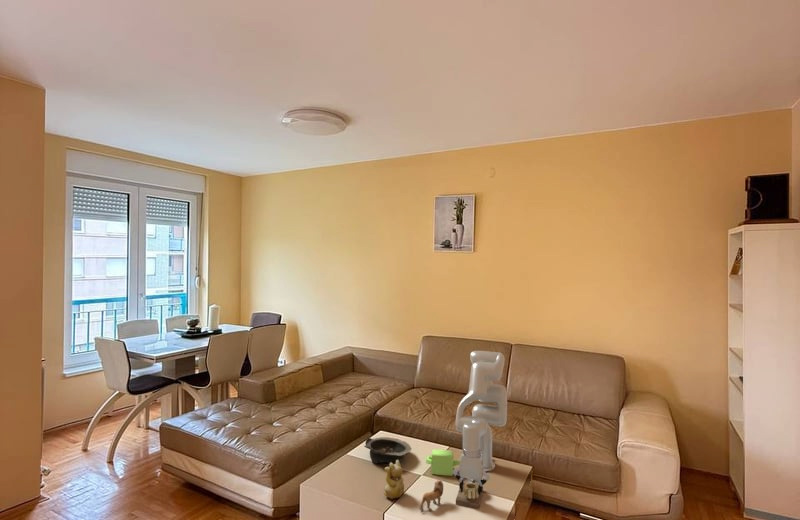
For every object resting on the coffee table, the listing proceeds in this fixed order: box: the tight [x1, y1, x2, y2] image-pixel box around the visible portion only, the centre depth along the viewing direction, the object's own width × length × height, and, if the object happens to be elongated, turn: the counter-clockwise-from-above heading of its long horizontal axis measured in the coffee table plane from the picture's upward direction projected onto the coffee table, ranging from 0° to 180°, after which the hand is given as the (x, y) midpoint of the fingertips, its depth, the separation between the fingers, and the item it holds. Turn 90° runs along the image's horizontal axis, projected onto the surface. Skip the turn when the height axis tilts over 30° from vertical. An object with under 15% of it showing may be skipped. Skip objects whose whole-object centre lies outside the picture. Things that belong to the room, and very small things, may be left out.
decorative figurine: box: [383, 460, 405, 501], centre depth 190 cm, size 10×8×15 cm
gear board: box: [455, 482, 484, 509], centre depth 190 cm, size 15×10×6 cm, turn 162°
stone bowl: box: [363, 436, 413, 465], centre depth 226 cm, size 25×25×9 cm
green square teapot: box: [425, 448, 460, 477], centre depth 213 cm, size 18×10×10 cm, turn 83°
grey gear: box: [464, 478, 479, 485], centre depth 193 cm, size 7×7×4 cm
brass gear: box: [462, 482, 479, 499], centre depth 185 cm, size 7×7×4 cm
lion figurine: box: [419, 479, 444, 513], centre depth 182 cm, size 15×5×9 cm, turn 141°
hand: (470, 491), depth 185 cm, fingers closed on brass gear, 7 cm apart
